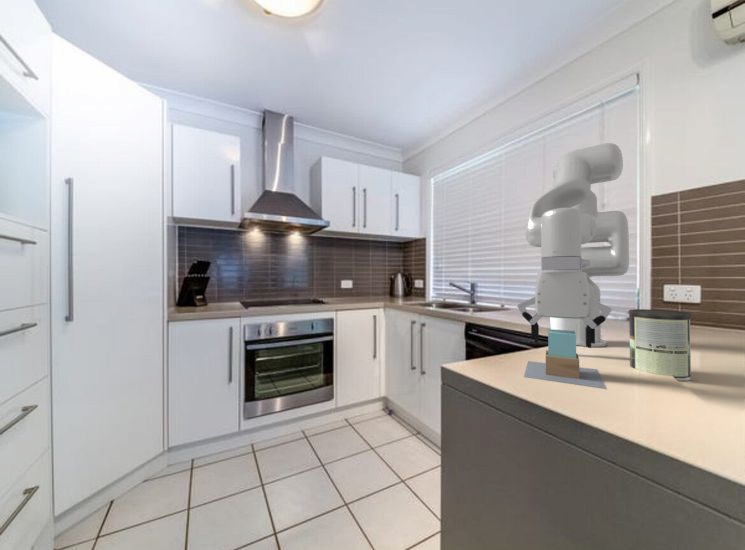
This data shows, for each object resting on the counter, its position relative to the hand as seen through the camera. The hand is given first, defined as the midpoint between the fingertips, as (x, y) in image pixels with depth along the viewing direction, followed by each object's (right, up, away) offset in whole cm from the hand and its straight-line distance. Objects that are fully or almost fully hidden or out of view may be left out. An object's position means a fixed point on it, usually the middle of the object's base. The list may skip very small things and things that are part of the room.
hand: (561, 344), depth 67 cm
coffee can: (+23, -8, +2) cm, 25 cm away
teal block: (0, -2, 0) cm, 2 cm away
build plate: (0, -7, 0) cm, 7 cm away
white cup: (+12, -8, +18) cm, 22 cm away
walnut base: (0, -6, 0) cm, 6 cm away
